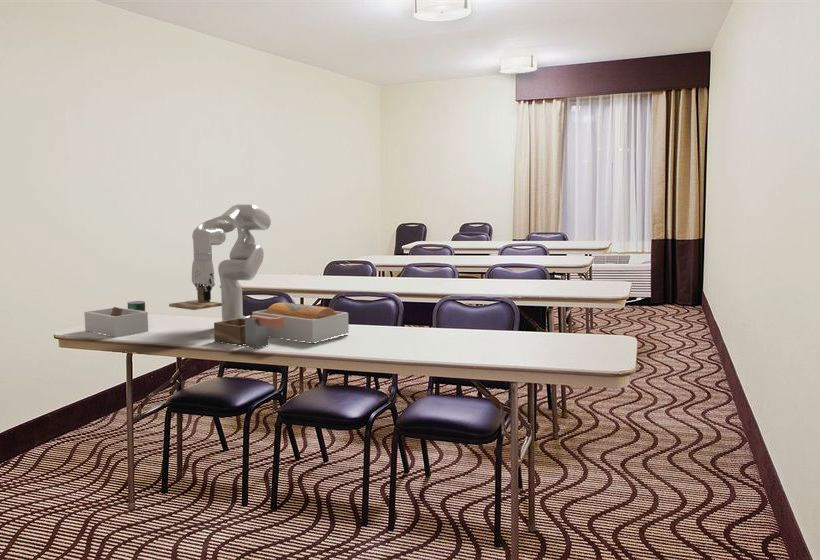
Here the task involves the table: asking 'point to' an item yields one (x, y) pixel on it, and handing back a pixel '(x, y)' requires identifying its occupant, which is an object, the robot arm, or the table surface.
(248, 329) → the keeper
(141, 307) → the canned tomato
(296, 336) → the frame
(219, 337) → the brown open box
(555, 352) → the table surface
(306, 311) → the orange brown curved block
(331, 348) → the table surface
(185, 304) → the lid
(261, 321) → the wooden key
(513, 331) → the table surface
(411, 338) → the table surface
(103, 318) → the frame
